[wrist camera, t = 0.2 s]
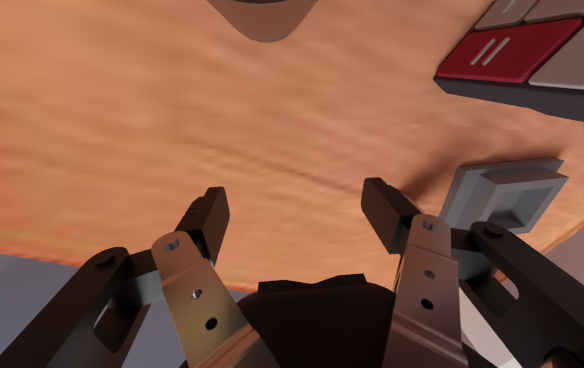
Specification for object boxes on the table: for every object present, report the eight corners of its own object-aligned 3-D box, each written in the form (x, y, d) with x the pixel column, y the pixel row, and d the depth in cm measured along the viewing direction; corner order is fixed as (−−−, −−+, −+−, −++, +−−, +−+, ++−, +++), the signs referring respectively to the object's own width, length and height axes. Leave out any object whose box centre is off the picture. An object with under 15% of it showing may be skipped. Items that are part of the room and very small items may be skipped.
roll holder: (458, 166, 33) (483, 180, 29) (553, 157, 33) (589, 169, 30) (434, 227, 39) (452, 245, 36) (513, 218, 40) (539, 235, 36)
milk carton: (438, 296, 53) (513, 401, 37) (453, 279, 49) (543, 386, 33) (461, 296, 54) (544, 398, 38) (478, 279, 50) (577, 383, 34)
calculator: (512, -26, 21) (886, -159, 8) (530, 5, 23) (871, -69, 10) (427, 75, 25) (587, 90, 13) (447, 96, 27) (608, 127, 14)
